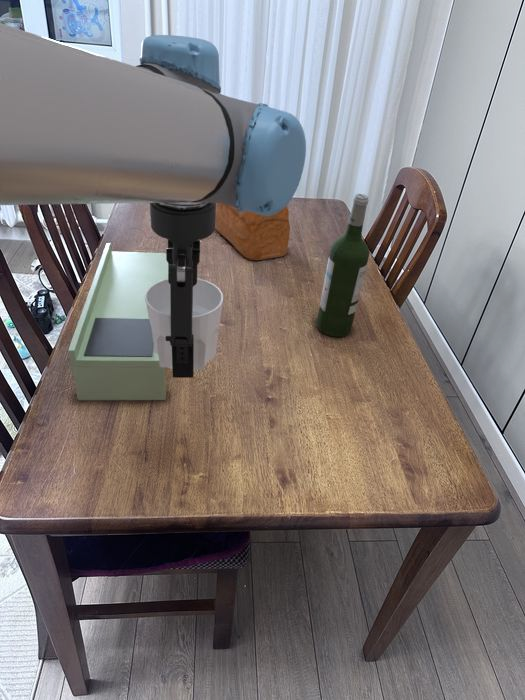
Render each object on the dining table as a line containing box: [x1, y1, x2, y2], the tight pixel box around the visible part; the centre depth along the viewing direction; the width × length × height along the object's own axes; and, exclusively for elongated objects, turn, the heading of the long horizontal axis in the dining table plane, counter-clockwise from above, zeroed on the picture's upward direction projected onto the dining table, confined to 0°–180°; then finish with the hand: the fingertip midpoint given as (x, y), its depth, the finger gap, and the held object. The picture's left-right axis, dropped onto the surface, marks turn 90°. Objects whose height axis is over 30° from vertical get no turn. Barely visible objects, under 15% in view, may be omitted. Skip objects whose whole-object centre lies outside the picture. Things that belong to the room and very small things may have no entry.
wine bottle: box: [316, 193, 370, 338], centre depth 100 cm, size 8×8×30 cm
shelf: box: [67, 242, 168, 401], centre depth 97 cm, size 39×15×11 cm, turn 5°
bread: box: [215, 203, 291, 261], centre depth 137 cm, size 14×27×15 cm, turn 29°
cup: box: [145, 277, 224, 371], centre depth 66 cm, size 10×10×10 cm
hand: (184, 351), depth 69 cm, fingers closed on cup, 10 cm apart
